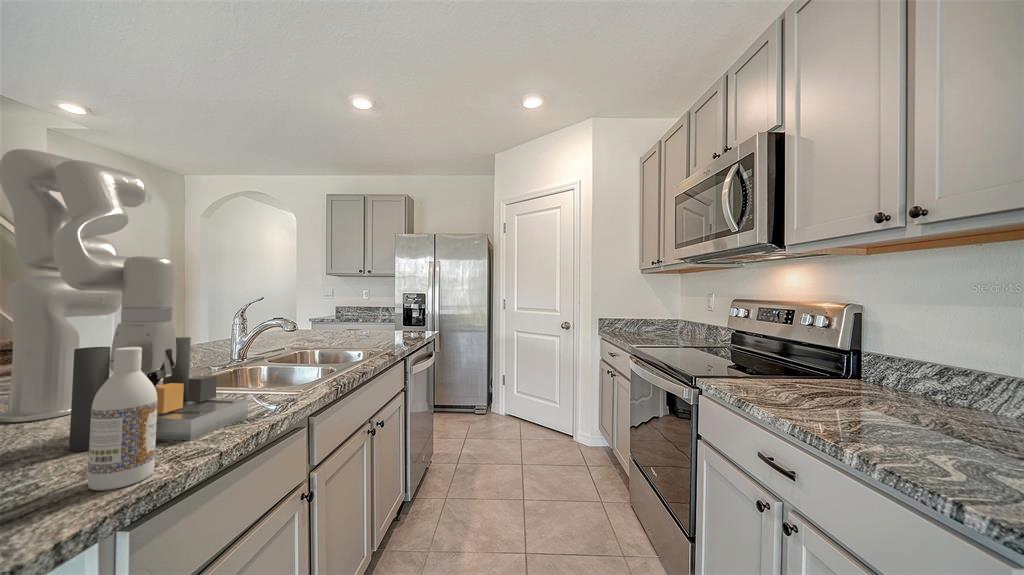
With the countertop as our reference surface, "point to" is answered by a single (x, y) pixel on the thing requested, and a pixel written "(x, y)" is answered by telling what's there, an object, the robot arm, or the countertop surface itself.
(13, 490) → the countertop surface
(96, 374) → the post
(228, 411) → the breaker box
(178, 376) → the post
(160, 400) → the tab orange
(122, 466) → the bath foam
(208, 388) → the grey small block
